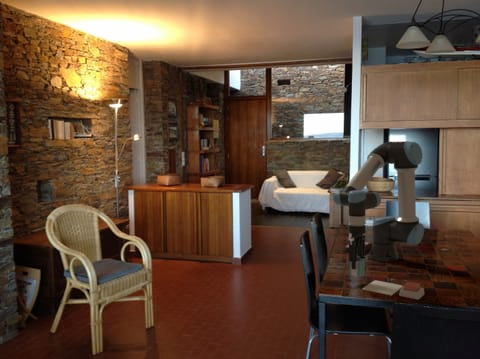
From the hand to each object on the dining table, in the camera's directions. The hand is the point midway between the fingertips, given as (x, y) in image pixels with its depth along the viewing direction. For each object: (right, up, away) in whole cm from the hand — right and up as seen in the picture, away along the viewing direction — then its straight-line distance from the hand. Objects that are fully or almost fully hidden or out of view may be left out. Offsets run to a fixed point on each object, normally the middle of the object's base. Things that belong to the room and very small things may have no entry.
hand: (357, 273), depth 204 cm
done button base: (+19, -6, -16) cm, 25 cm away
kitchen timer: (+21, +3, +74) cm, 77 cm away
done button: (+19, -3, -16) cm, 25 cm away
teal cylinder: (0, 0, 0) cm, 0 cm away
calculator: (+16, +1, +60) cm, 62 cm away
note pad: (+10, -5, -7) cm, 13 cm away
